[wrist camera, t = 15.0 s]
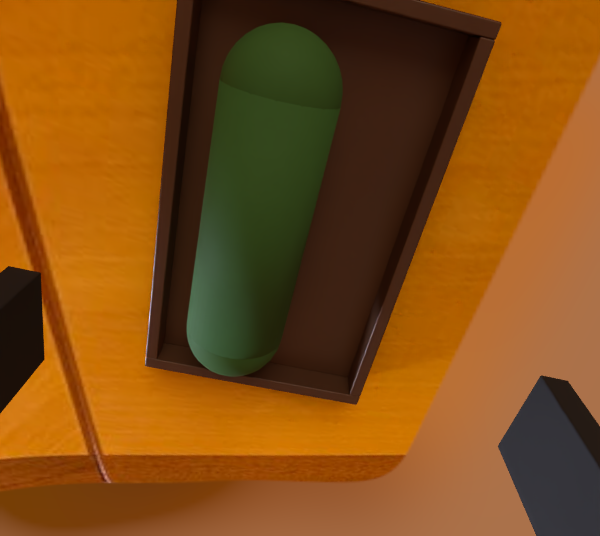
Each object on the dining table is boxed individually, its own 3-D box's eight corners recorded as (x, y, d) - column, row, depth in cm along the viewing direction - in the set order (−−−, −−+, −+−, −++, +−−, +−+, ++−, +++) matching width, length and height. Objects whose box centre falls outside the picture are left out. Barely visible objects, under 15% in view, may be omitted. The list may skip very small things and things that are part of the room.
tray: (194, -55, 18) (182, -63, 16) (484, 22, 19) (502, 22, 17) (155, 343, 26) (144, 366, 25) (353, 380, 27) (356, 405, 26)
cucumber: (283, 20, 19) (200, 0, 15) (379, 45, 17) (310, 28, 14) (227, 325, 26) (161, 359, 23) (290, 368, 24) (229, 413, 21)
